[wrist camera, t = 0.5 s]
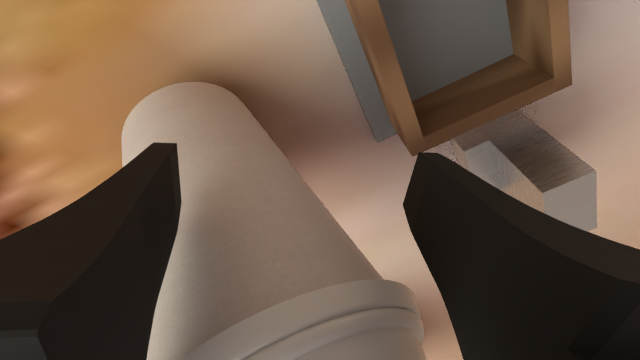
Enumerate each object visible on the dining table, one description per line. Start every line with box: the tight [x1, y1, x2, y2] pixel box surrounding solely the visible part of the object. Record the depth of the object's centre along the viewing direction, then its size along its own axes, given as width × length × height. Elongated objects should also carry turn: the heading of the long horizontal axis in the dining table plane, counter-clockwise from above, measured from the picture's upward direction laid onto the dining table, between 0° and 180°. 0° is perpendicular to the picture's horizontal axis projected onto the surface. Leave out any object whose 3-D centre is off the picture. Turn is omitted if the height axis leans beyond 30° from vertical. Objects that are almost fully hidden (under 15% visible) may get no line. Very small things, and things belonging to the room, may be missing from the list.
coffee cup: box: [122, 82, 427, 360], centre depth 16 cm, size 10×10×15 cm
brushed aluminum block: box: [451, 110, 597, 231], centre depth 22 cm, size 4×4×7 cm
